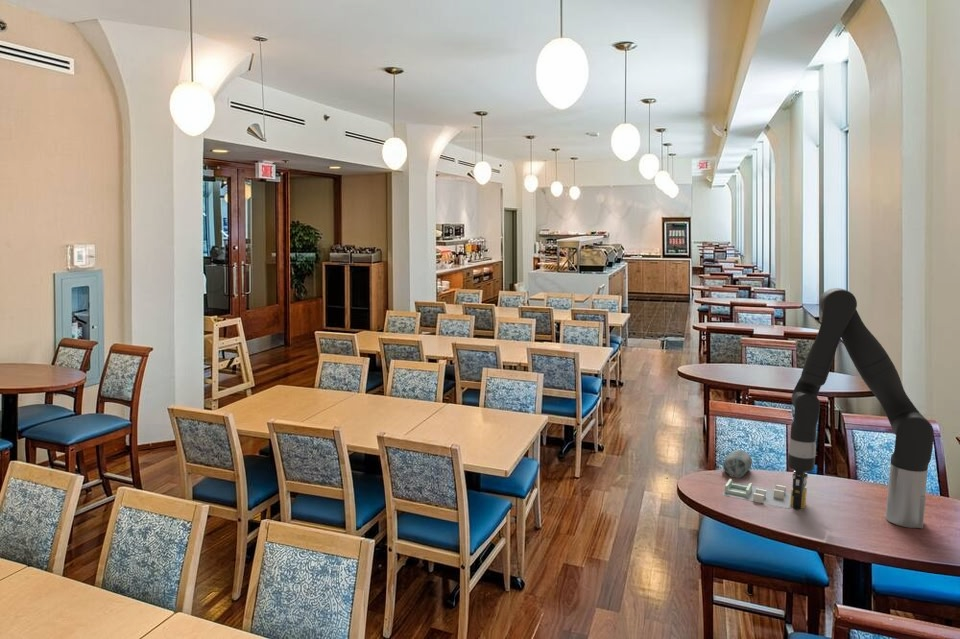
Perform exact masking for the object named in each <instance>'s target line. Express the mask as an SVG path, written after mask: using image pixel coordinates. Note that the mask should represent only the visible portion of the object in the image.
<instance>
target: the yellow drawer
mask: <svg viewBox="0 0 960 639" xmlns="http://www.w3.org/2000/svg"><path fill="white" fill-rule="evenodd" d="M790 493H791V503H790V507H793V498H794V496H792V493H793V488H792V487H791V490H790ZM795 493H799V494H800V491H797V490H796V491H795ZM807 493H808V488H807V487H805V490H804V491H803V492H802V495H803V496H802V500H801V509H805V508H806V504H807V496H808V494H807Z"/></svg>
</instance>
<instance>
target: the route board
mask: <svg viewBox="0 0 960 639" xmlns="http://www.w3.org/2000/svg"><path fill="white" fill-rule="evenodd" d="M732 483H733V484H738V485H743V486H748V485H749V484H747V483H742V482H736V481H732ZM756 488H758V489H763V490H766V498H764V502H763V503H762V504H763V505H768V506H773V507H778V508H783V509H788V510H789V509H790V508H791V506H790V503H791V492H787V491H786V494H784V499H780V498H775V497H773V494H774V489H773V488H766V487H763V486H757V485H752V491H751V493H750V494H749V496H748V497H744V496H739V495H734V494H730V493H725V490H724V491H723V492H722V494H721V496H726V497H731V498H734V499H740V500H744V501H750V502H754V503H759V504H761V503H760V502H756V501H753V494H754V493H756ZM729 490H734V491H739V492H744V493H746V490H744V489H739V488H734V487H731V488H730V489H729Z"/></svg>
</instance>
